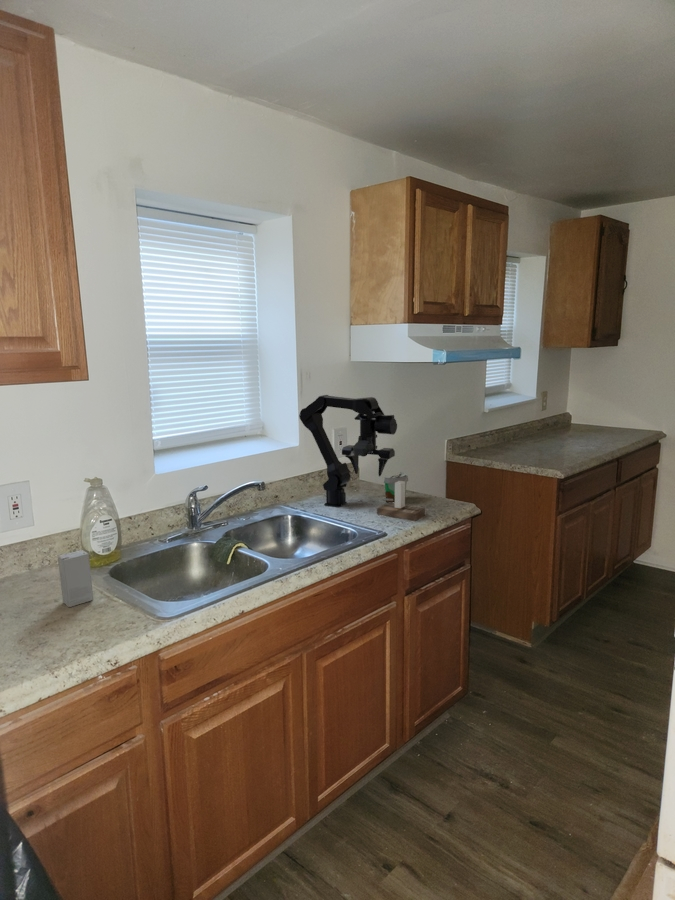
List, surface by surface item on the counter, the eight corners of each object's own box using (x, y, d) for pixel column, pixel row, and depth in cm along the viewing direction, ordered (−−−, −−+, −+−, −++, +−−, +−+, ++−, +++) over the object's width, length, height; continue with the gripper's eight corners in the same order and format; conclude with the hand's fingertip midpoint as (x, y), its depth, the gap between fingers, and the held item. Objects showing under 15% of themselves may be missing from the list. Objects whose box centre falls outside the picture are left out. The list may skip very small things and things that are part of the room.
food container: (397, 505, 223) (397, 479, 221) (383, 503, 227) (383, 477, 225) (414, 498, 233) (414, 473, 231) (400, 496, 237) (400, 471, 235)
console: (376, 514, 212) (376, 507, 212) (387, 509, 219) (387, 502, 218) (415, 520, 204) (415, 513, 204) (424, 515, 211) (425, 508, 210)
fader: (394, 507, 210) (394, 482, 209) (398, 505, 213) (399, 480, 212) (400, 508, 209) (400, 483, 207) (405, 506, 212) (405, 481, 210)
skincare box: (87, 595, 147) (83, 548, 145) (94, 600, 144) (90, 553, 141) (61, 602, 143) (56, 555, 141) (68, 608, 140) (63, 559, 137)
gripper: (334, 434, 211) (335, 477, 213) (383, 437, 202) (383, 482, 205) (348, 429, 220) (348, 471, 223) (395, 432, 212) (395, 475, 215)
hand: (368, 474), depth 216 cm, fingers open, 9 cm apart
